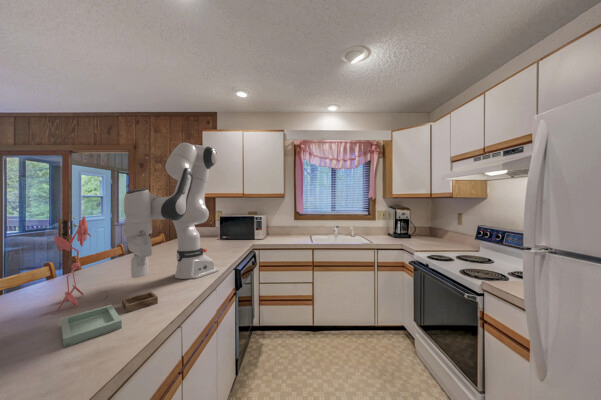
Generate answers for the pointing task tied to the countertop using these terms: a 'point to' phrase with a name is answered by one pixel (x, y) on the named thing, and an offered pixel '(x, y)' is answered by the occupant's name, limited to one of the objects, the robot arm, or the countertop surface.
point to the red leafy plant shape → (81, 237)
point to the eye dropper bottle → (138, 267)
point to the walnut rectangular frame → (139, 301)
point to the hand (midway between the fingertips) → (140, 264)
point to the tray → (89, 325)
